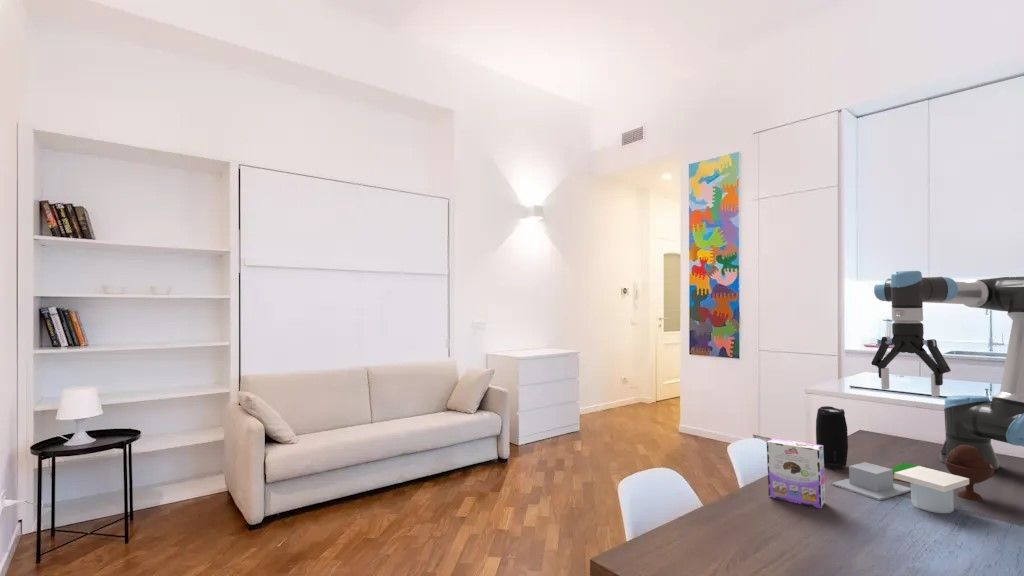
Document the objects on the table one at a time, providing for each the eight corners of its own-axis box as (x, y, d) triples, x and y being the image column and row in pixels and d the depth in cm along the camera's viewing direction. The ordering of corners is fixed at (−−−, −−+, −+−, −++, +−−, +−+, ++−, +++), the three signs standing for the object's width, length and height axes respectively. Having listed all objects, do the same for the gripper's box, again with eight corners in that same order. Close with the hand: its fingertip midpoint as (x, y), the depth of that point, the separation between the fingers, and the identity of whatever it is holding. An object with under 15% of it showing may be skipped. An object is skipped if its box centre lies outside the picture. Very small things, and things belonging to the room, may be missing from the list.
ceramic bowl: (922, 498, 150) (922, 473, 150) (960, 509, 142) (959, 483, 142) (904, 503, 146) (903, 478, 146) (941, 515, 138) (940, 489, 138)
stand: (864, 476, 168) (863, 457, 168) (912, 490, 155) (911, 470, 155) (831, 484, 161) (831, 465, 161) (879, 500, 149) (878, 479, 149)
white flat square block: (919, 471, 152) (919, 465, 152) (969, 484, 141) (969, 478, 141) (894, 477, 147) (894, 472, 147) (944, 492, 136) (944, 486, 136)
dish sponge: (929, 474, 169) (928, 467, 169) (914, 484, 161) (914, 476, 161) (902, 469, 175) (902, 462, 175) (887, 478, 167) (887, 471, 167)
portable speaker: (820, 460, 185) (818, 404, 185) (851, 465, 178) (849, 408, 179) (813, 466, 178) (812, 408, 179) (845, 472, 172) (844, 412, 172)
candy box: (826, 503, 148) (824, 444, 148) (821, 509, 143) (819, 449, 144) (773, 491, 157) (772, 436, 157) (767, 497, 153) (765, 440, 153)
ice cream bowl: (1005, 505, 144) (1003, 450, 144) (959, 502, 146) (957, 448, 146) (979, 491, 154) (978, 439, 154) (936, 488, 156) (934, 438, 157)
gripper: (857, 321, 168) (859, 387, 167) (949, 324, 145) (951, 401, 145) (871, 320, 171) (873, 385, 170) (963, 323, 148) (966, 398, 148)
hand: (909, 392), depth 157 cm, fingers open, 13 cm apart
